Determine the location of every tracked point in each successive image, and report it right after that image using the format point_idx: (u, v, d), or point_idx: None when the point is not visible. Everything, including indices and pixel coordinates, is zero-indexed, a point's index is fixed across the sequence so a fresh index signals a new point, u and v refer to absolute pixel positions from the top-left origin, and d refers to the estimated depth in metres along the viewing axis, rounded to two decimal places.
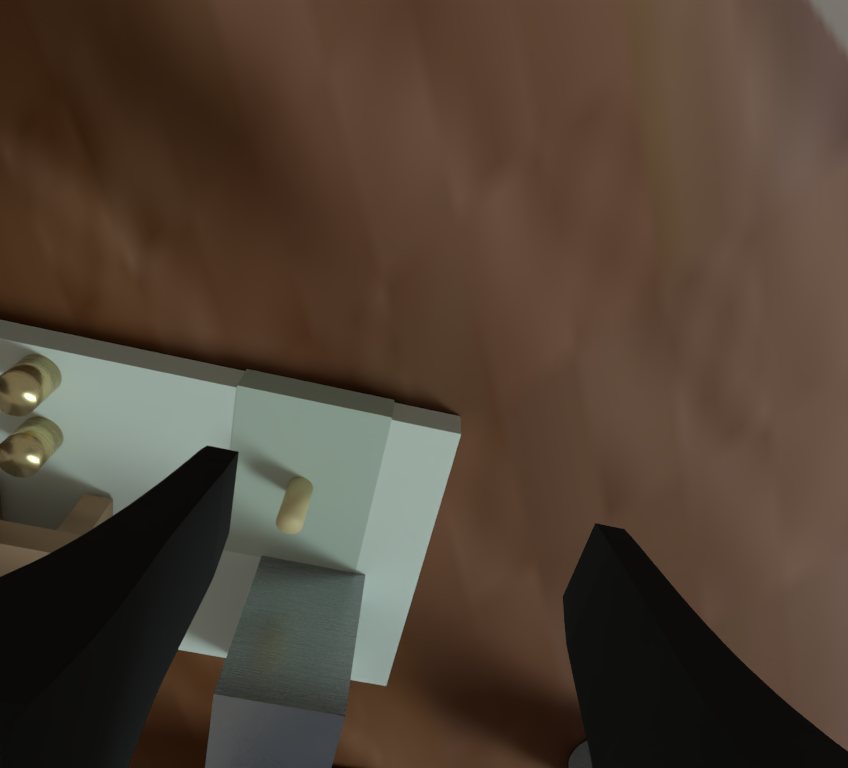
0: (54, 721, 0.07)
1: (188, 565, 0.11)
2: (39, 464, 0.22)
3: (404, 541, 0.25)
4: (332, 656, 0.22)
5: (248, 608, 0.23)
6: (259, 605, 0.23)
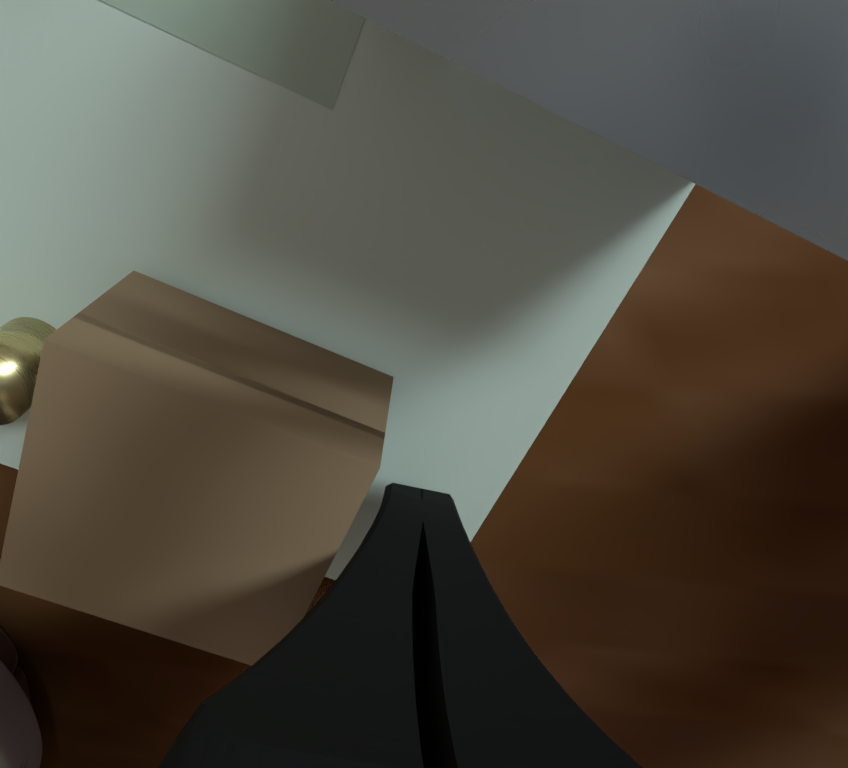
0: None
1: None
2: None
3: None
4: None
5: None
6: None
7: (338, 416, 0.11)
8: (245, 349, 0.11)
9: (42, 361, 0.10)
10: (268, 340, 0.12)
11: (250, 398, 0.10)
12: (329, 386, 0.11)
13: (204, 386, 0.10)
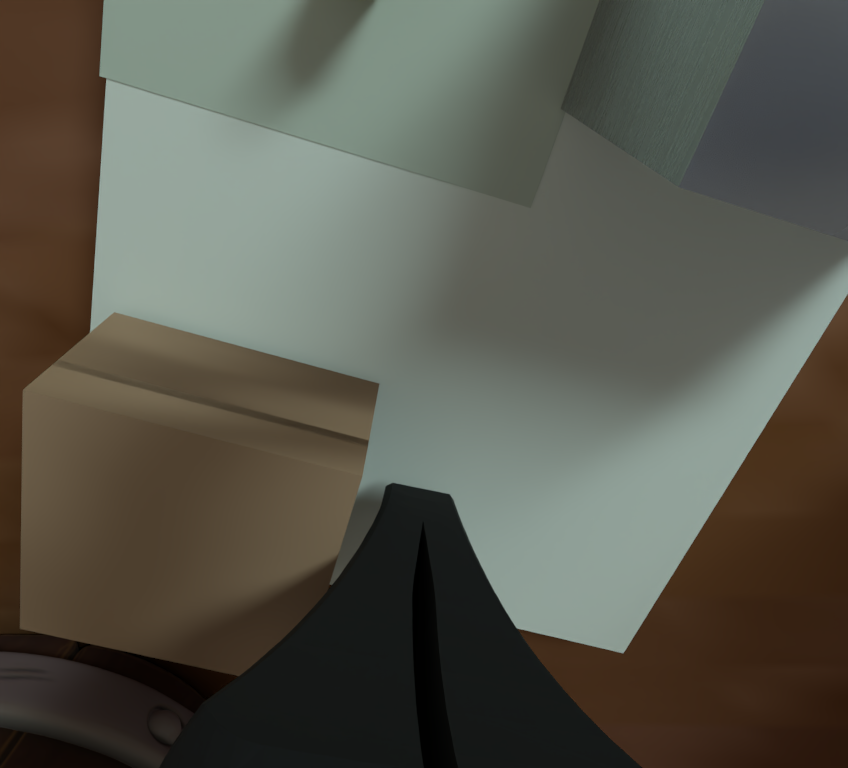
0: None
1: None
2: None
3: None
4: None
5: (598, 116, 0.08)
6: (604, 88, 0.08)
7: (320, 429, 0.11)
8: (225, 375, 0.11)
9: (25, 410, 0.10)
10: (249, 363, 0.12)
11: (229, 422, 0.10)
12: (311, 400, 0.12)
13: (182, 416, 0.10)
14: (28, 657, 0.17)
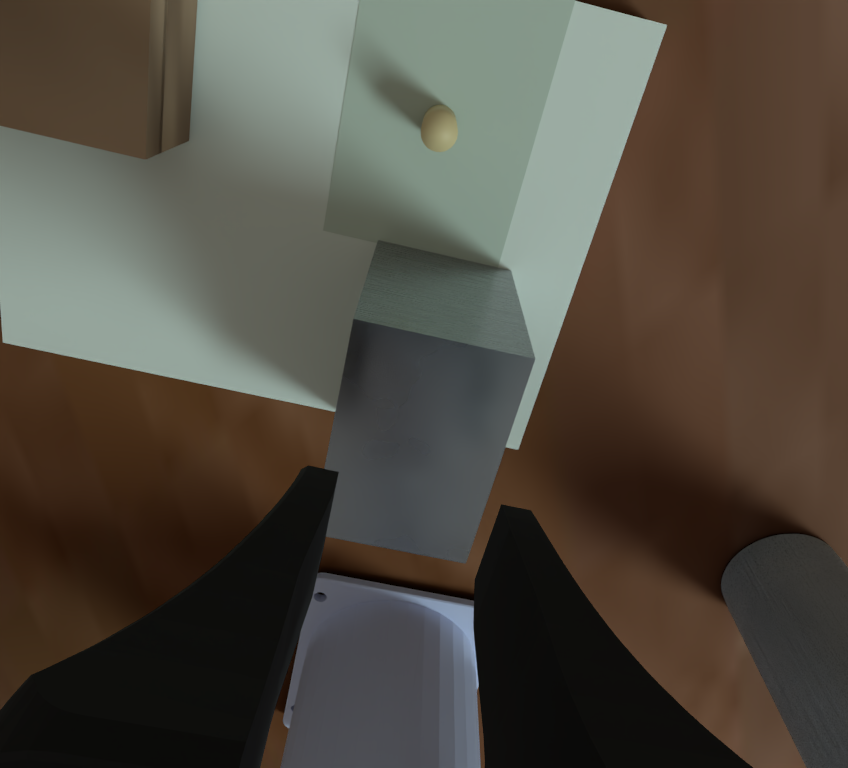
0: (248, 753, 0.07)
1: (305, 586, 0.11)
2: None
3: (568, 213, 0.19)
4: (497, 315, 0.16)
5: (375, 269, 0.17)
6: (388, 269, 0.17)
7: (162, 118, 0.16)
8: (178, 34, 0.16)
9: None
10: (187, 46, 0.17)
11: (157, 57, 0.15)
12: (174, 102, 0.17)
13: (156, 24, 0.15)
14: None
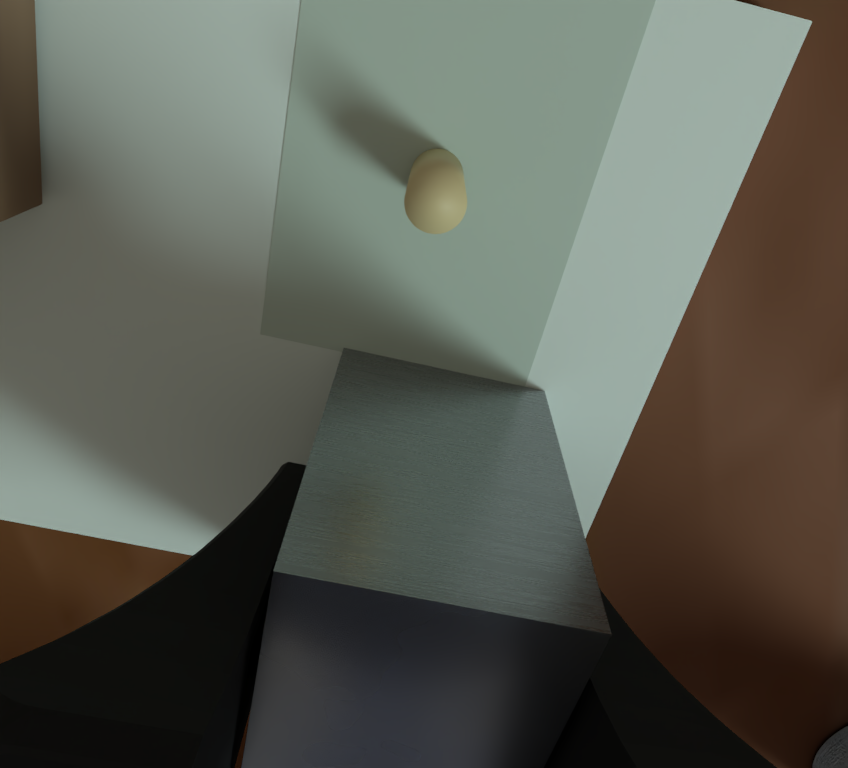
0: (210, 747, 0.07)
1: None
2: None
3: (634, 311, 0.12)
4: (533, 511, 0.10)
5: (332, 419, 0.11)
6: (353, 415, 0.11)
7: None
8: None
9: None
10: (17, 56, 0.10)
11: None
12: None
13: None
14: None
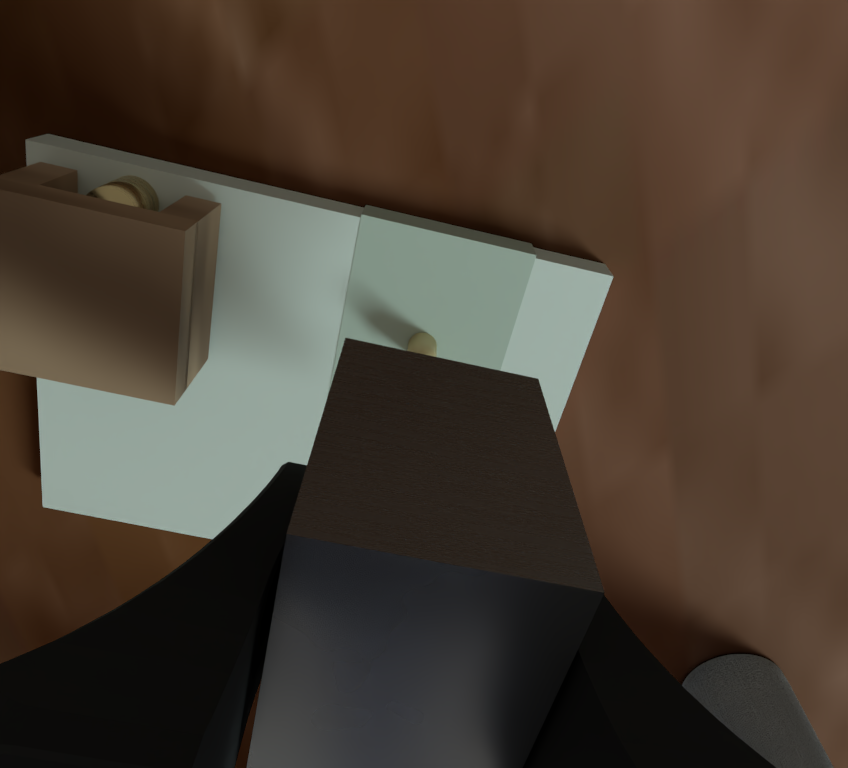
0: (210, 747, 0.07)
1: None
2: None
3: None
4: (529, 485, 0.10)
5: (337, 401, 0.11)
6: (356, 398, 0.11)
7: (187, 364, 0.19)
8: (202, 295, 0.19)
9: (169, 226, 0.16)
10: (208, 296, 0.20)
11: (185, 328, 0.18)
12: (197, 344, 0.20)
13: (184, 307, 0.18)
14: None
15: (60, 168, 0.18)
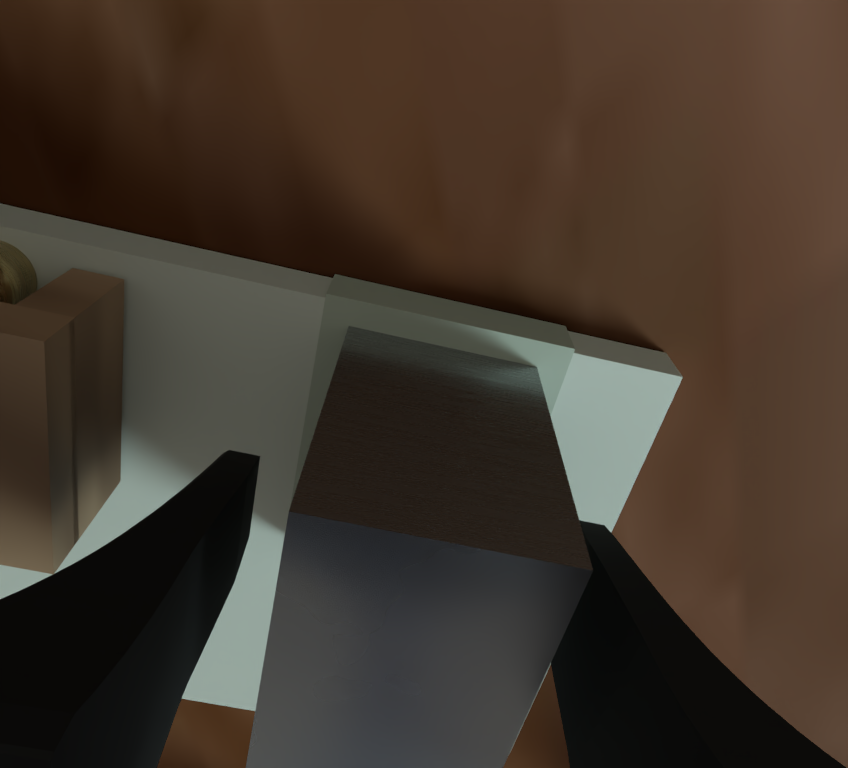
0: (96, 728, 0.07)
1: (213, 569, 0.11)
2: None
3: None
4: (524, 468, 0.11)
5: (339, 387, 0.11)
6: (358, 384, 0.12)
7: (77, 510, 0.13)
8: (96, 411, 0.13)
9: (19, 333, 0.11)
10: (111, 406, 0.14)
11: (63, 468, 0.12)
12: (95, 475, 0.14)
13: (58, 442, 0.12)
14: None
15: None
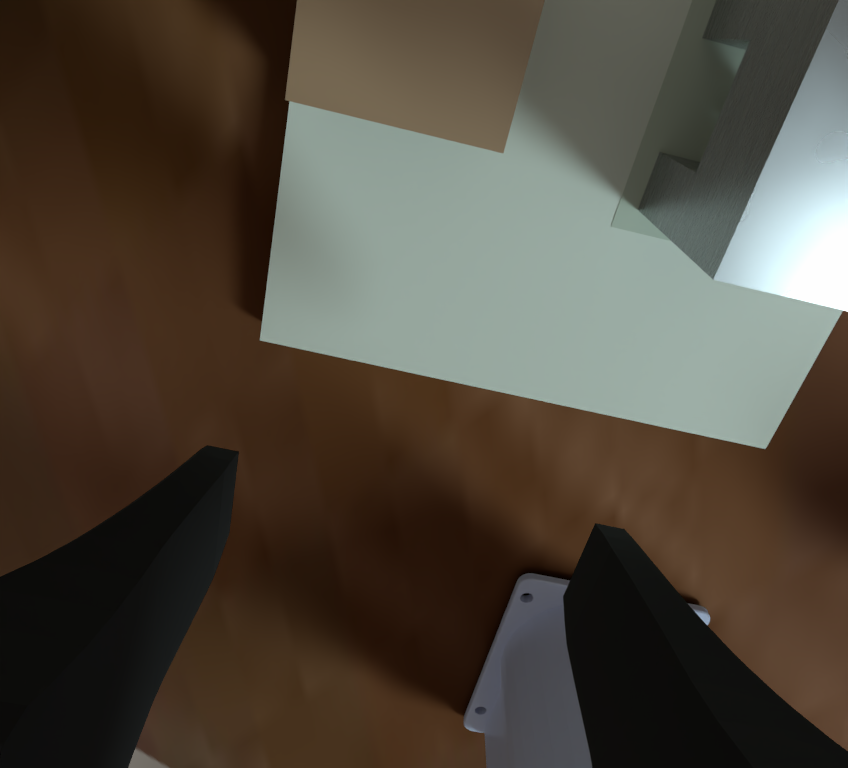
0: (54, 721, 0.07)
1: (188, 565, 0.11)
2: None
3: None
4: None
5: None
6: None
7: None
8: None
9: None
10: None
11: None
12: None
13: None
14: None
15: None
